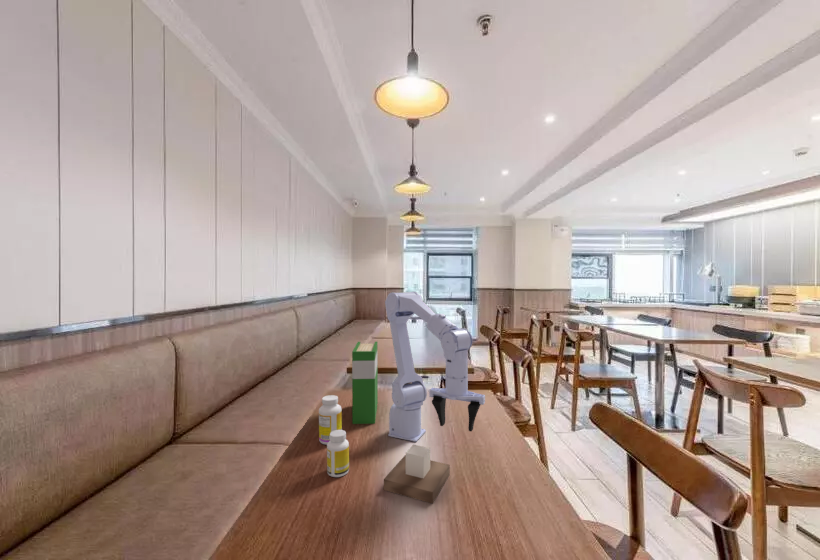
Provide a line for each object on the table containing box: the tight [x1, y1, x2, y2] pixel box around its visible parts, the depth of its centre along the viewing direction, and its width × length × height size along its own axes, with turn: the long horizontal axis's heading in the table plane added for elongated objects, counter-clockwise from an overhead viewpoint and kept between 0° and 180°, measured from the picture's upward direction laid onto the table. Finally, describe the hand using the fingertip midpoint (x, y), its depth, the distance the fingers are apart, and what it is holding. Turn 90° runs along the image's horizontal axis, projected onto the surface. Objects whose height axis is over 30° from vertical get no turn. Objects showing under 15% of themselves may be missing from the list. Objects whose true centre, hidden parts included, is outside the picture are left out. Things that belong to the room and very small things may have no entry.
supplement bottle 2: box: [326, 429, 350, 478], centre depth 88 cm, size 5×5×10 cm
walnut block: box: [383, 454, 451, 504], centre depth 84 cm, size 12×12×2 cm
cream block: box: [405, 444, 431, 478], centre depth 84 cm, size 4×4×5 cm
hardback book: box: [351, 341, 379, 425], centre depth 125 cm, size 18×7×24 cm, turn 2°
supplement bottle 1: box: [318, 394, 343, 446], centre depth 105 cm, size 7×7×13 cm
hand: (456, 427), depth 92 cm, fingers open, 7 cm apart
